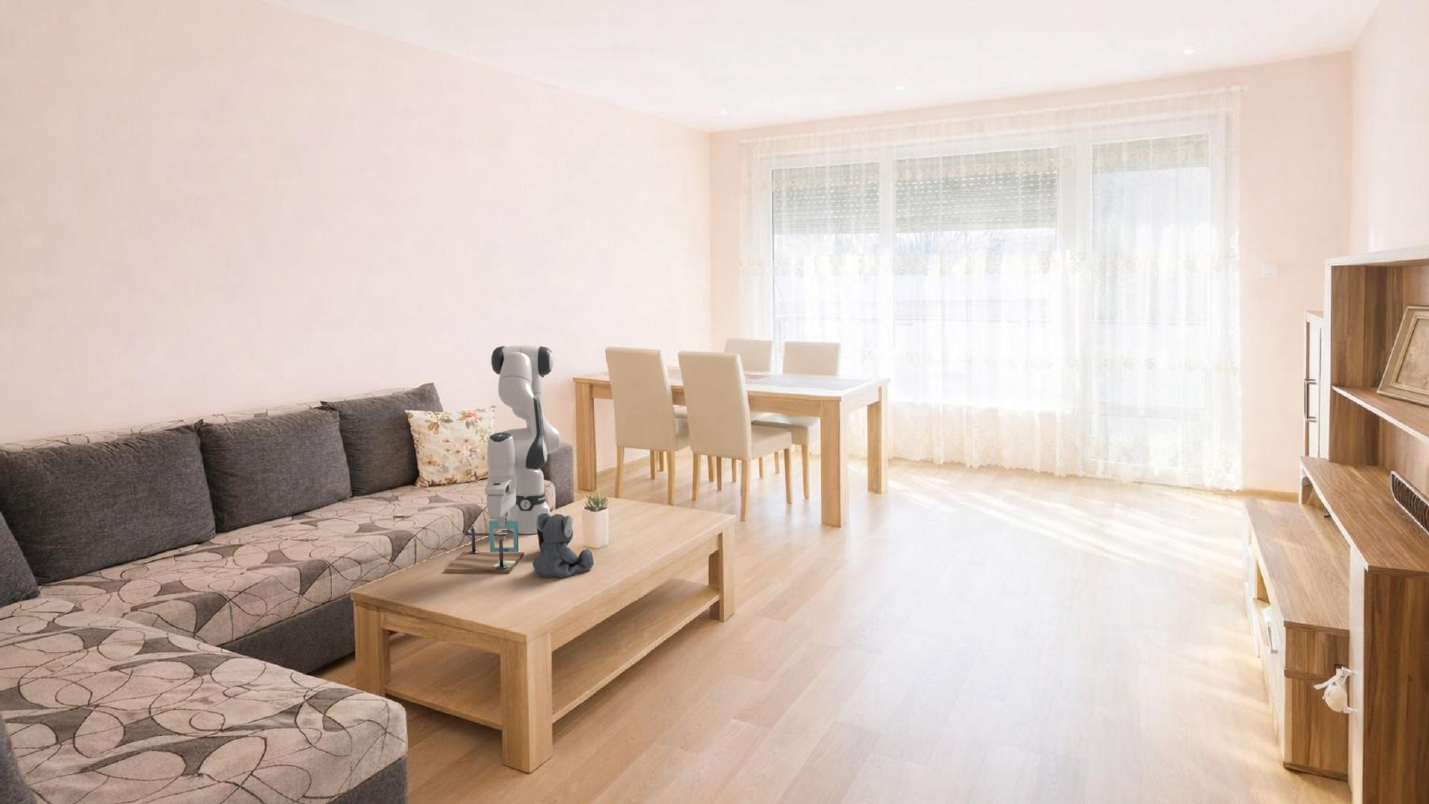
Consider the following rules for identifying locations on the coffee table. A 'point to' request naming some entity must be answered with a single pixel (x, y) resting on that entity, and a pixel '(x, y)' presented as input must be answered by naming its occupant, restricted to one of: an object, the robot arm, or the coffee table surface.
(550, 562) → the koala plush
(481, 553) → the board
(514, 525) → the teal picture frame
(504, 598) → the coffee table surface
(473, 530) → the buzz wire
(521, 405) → the robot arm
